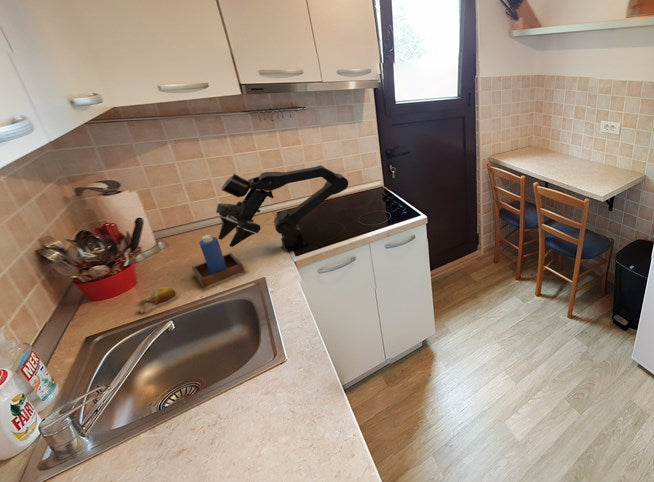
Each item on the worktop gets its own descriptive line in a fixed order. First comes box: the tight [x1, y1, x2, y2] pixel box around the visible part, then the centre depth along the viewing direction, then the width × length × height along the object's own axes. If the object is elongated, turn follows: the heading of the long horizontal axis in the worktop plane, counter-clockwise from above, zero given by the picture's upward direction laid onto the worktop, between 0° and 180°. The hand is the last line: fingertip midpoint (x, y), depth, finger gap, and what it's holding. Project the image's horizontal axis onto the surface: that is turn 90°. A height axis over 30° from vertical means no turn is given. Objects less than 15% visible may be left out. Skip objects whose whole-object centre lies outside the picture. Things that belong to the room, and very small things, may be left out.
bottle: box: [199, 234, 227, 275], centre depth 113 cm, size 5×5×15 cm
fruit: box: [139, 287, 176, 314], centre depth 103 cm, size 8×8×4 cm
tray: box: [191, 252, 245, 288], centre depth 115 cm, size 12×12×4 cm
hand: (225, 242), depth 115 cm, fingers open, 9 cm apart
